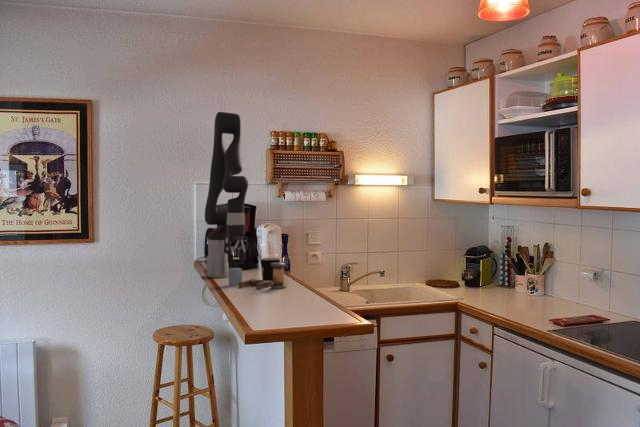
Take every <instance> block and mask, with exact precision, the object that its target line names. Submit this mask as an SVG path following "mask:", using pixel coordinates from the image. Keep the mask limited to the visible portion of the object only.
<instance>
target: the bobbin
mask: <svg viewBox="0 0 640 427" xmlns="http://www.w3.org/2000/svg"><path fill="white" fill-rule="evenodd" d="M271 266H273V283H272V285H271V286H270V288H271V289H272V290H273V289H274V290H281V289H282V290H283V289H286V287H287V286H286V284H284V283H285V282H284V281H285V278H284V277H285V276H284V275H285V269H284V268H285V267H286V266H287V264H286V262H281V261H280V262H277V263H271Z"/></svg>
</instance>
